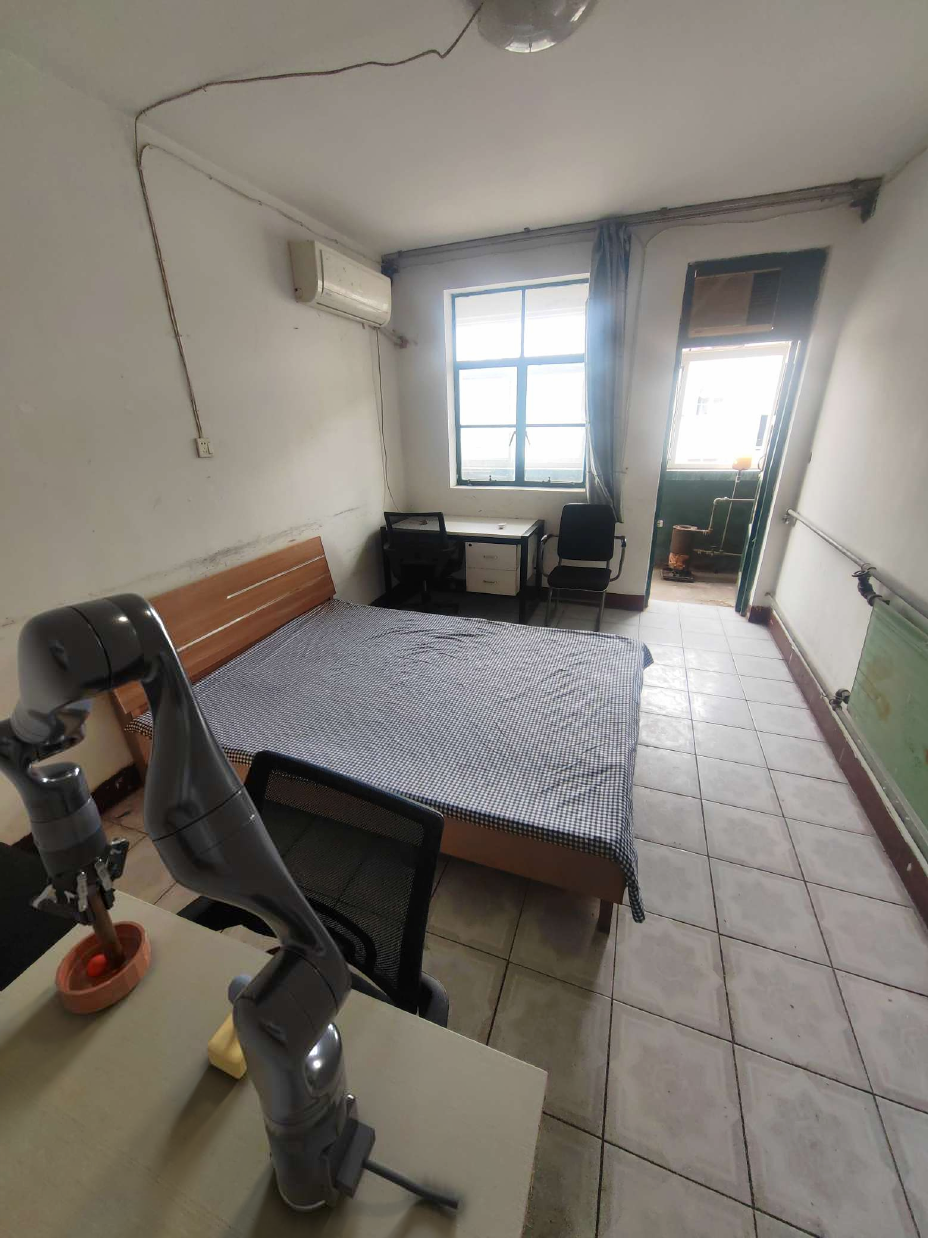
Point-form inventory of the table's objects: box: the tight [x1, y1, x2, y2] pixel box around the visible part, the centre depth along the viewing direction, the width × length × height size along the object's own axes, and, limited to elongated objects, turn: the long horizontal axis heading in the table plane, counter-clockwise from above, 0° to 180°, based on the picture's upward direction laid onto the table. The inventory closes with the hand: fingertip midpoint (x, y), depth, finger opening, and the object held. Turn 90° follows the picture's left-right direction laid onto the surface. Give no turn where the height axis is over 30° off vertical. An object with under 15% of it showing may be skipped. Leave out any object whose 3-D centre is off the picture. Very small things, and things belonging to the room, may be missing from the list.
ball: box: [87, 954, 108, 977], centre depth 78 cm, size 3×3×3 cm
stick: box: [87, 884, 126, 971], centre depth 76 cm, size 2×2×16 cm
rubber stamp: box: [206, 973, 253, 1080], centre depth 69 cm, size 10×6×12 cm, turn 160°
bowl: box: [54, 920, 152, 1015], centre depth 78 cm, size 12×12×5 cm
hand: (98, 914), depth 76 cm, fingers closed on stick, 2 cm apart
